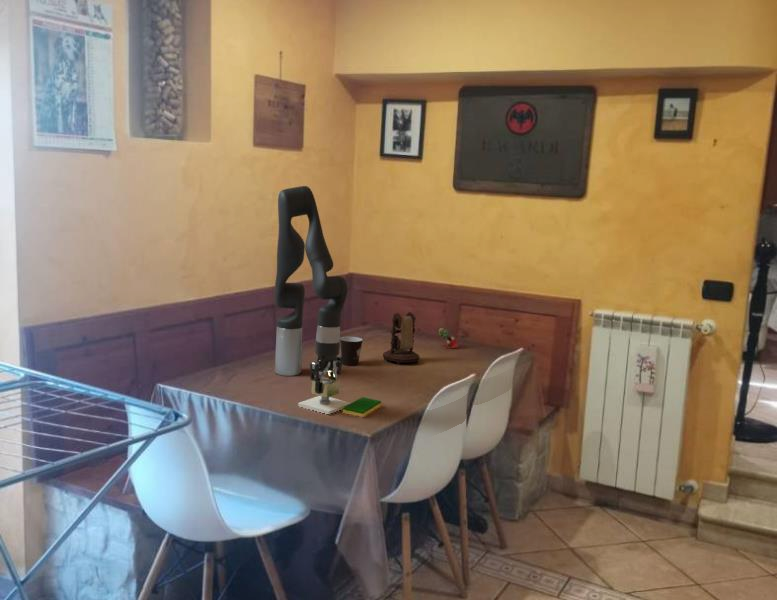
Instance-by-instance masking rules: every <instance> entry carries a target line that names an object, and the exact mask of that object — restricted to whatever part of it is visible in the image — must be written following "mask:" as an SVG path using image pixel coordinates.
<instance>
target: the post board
mask: <svg viewBox="0 0 777 600" xmlns="http://www.w3.org/2000/svg"><path fill="white" fill-rule="evenodd" d="M322 382H323V383H326V384H328V383H330V381H322ZM351 403H352V402H349V401H346V400H341V399H338V398H336V397H335V398H334V397H332V396H330V397H323V396H319V395H316V396H315V397H311V398H308V399H306V400H304V401H300V402H298V403H297V407H298V406H299V407H298V408H301V407H303V408H302V409H305V408H306V409H305V410H308V409H310V410H309V411H312V410H314V411H313V412H315V411H317V412H316V413H319V412H321V413H320V414H322V413H325V414H324V415H326V414H330V413H333V412H336V411H338V412H340V411H339V410H341V411H343V410H342V409H343V407H345V406H347V405H349V404H351ZM336 413H337V412H336ZM333 414H334V413H333ZM330 415H331V414H330Z"/></svg>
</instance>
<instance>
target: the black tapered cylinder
mask: <svg viewBox="0 0 777 600" xmlns="http://www.w3.org/2000/svg"><path fill="white" fill-rule="evenodd" d="M363 341H364V340H363V338H361V337H357V336H342V337H340V356H341V357H343V360H342V365H343V366H346V367H357V366H359V363H360V362H359V361H360V358H361V357H360V356H361V350H362V345H363Z"/></svg>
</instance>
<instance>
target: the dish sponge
mask: <svg viewBox="0 0 777 600" xmlns="http://www.w3.org/2000/svg"><path fill="white" fill-rule="evenodd" d="M350 403H351V404H349V405H347V406H345V407H343V410H342V414H343V413H347V414H353V415H359V416H364V415H366V414H368V413H369V412H371V411H373V410H375V409H377V408H378V407H380V406H381V407H382V401H381V400H378V399H373V398H369V397H365V396H363V397H360V398H358V399H356V400H355V401H352V402H350ZM381 407H380V408H381ZM377 410H378V409H377ZM375 411H376V410H375Z"/></svg>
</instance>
